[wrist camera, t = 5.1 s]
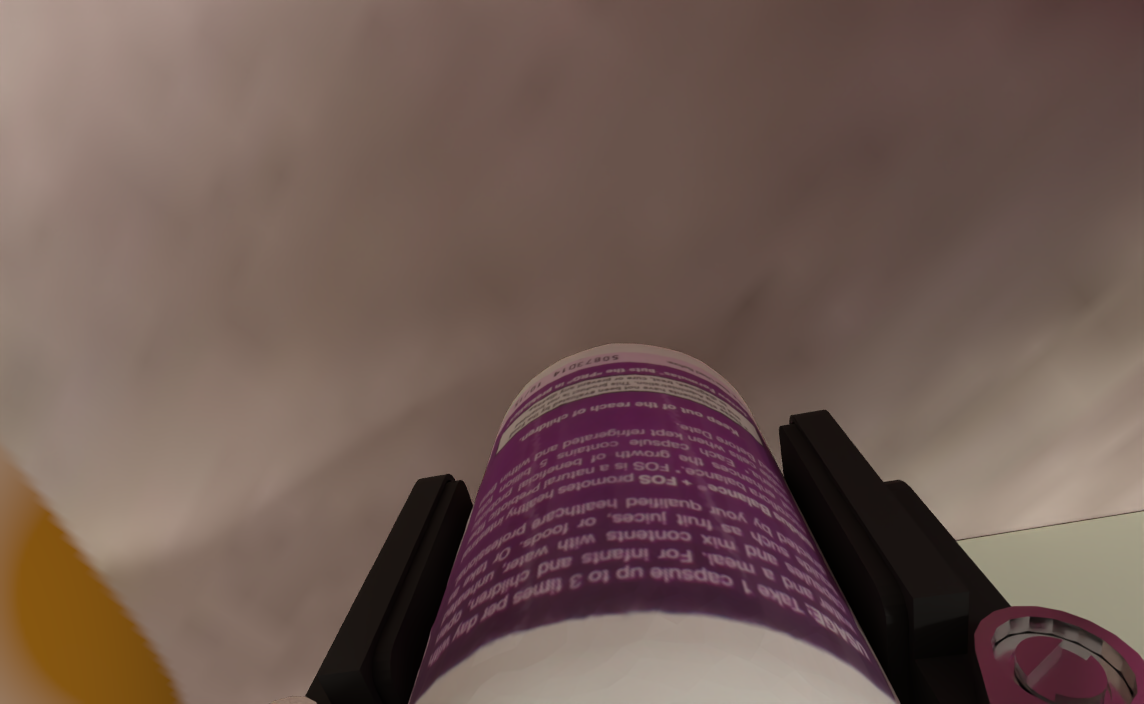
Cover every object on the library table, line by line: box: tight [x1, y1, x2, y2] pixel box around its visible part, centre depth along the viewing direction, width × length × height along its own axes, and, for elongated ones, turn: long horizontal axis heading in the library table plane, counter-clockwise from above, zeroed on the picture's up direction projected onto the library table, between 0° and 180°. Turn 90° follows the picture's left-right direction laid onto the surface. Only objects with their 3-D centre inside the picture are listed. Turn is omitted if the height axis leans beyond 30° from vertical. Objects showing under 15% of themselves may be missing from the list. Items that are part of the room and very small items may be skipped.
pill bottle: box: [408, 343, 901, 704], centre depth 7 cm, size 5×5×10 cm
